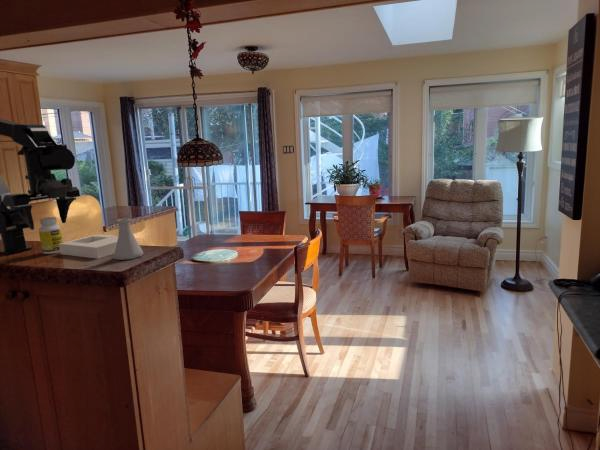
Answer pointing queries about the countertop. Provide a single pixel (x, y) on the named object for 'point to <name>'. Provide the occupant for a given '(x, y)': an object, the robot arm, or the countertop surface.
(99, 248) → the block
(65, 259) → the countertop surface
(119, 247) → the flask
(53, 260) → the countertop surface
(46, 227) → the supplement bottle
